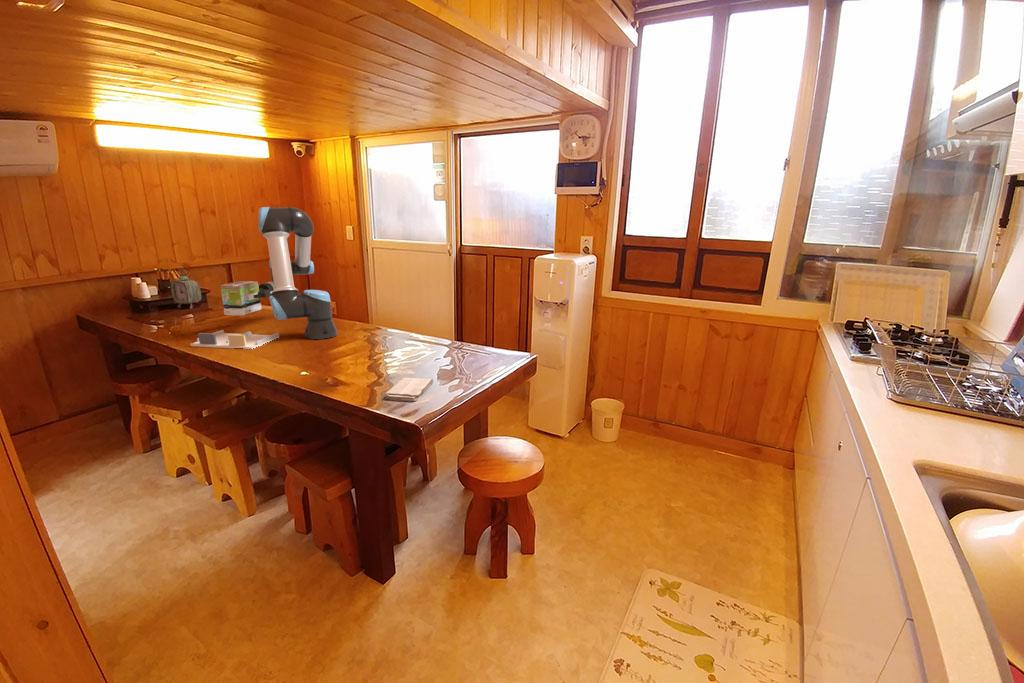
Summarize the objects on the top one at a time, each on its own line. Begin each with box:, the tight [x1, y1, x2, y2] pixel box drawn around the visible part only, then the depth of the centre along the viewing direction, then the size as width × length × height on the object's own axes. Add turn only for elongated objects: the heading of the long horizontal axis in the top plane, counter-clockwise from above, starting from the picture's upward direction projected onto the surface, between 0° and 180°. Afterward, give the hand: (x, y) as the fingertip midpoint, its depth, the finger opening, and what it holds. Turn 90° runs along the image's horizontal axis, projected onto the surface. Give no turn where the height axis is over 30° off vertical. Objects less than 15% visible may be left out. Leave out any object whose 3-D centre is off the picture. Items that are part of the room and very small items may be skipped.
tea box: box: [219, 280, 262, 316], centre depth 221 cm, size 15×10×15 cm
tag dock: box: [190, 329, 280, 350], centre depth 214 cm, size 31×20×6 cm, turn 83°
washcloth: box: [384, 377, 434, 402], centre depth 159 cm, size 12×18×3 cm, turn 172°
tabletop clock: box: [169, 268, 202, 310], centre depth 282 cm, size 14×9×25 cm, turn 72°
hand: (237, 297), depth 219 cm, fingers closed on tea box, 10 cm apart
